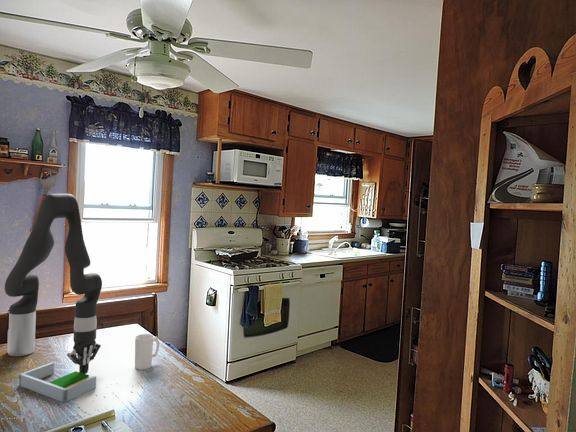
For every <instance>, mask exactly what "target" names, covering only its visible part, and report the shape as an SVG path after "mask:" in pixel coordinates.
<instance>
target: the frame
mask: <svg viewBox="0 0 576 432" xmlns="http://www.w3.org/2000/svg"><path fill="white" fill-rule="evenodd" d="M54 373H55V362H53V361H52V362H49V363H47V364H44V365H41V366H38V367H36V368H33V369H30V370H27V371H25V372H22V373H19V376H18V377H19V381H18V386H20V387H21V388H25V389H27V390H30V391H32V392H34V393H35V392H36V393H37V394H41V395H43V396H45V397H48V398H51V399H54V400H56V401H59V402H62V403H66V402H69V401H71V400H73V399H75V398H77V397H79V396H81V395H83V394H85V393H87V392H90V391H92V390H94V389H95V388H97V375H92V376H89V378H88V379H86V380H84V381H81V382H79V383H77V384H74V385H72V386H70V387H68V388H63V387H60V386H57V385H54V384H51V383H49V382H50V381H45V380H43V378H45V377H48V376H50V375H53V374H54Z"/></svg>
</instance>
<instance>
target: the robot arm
mask: <svg viewBox="0 0 576 432" xmlns="http://www.w3.org/2000/svg"><path fill="white" fill-rule="evenodd" d="M63 218H65V219H66V220H67V224H68V232H67V233H68V234H67V236H66V240H65V243H64V252H65V255H66V260H67V263H68V266H69V284H70V285H69V287H70V290H71V291H72V292H73V293H74V294H75V295H78V296H82V295H83V297H82V298H80V299H79V300H77V301H75V302H76V303H75V308H74V320H73V321H74V322H73V342H74V343H73V344H74V345H73V346H72V351H71V352H68V353H67V355H66V356H67V358H69V359H70V360H71V362H72V363H73V364H74V365H78V366H79V368H78V372H80V373H84V374H88V373H89V369H90V368H89V366H90V365H89V364H90V362H91V361H93V360H94V359H95V357H96V355H97V354H98V352H99V350H100V348H101V346H102V345H101V344H99V343H96V339H97V324H98V323H97V322H98V319H97V304H98V302H99V299H100V295H101V292H102V286H103V279H102V278H101V276H100V274H98V273H96V272H90V273H86V274H85V273H84V271H85V269H87V268H89V267H90V266H91V260H90V256H89V253H88V250H87V246H86V243H85V239H84V234H83V228H82V219H81V213H80V207H79V203H78V200H77V198H76V196H74V195H73V194H71V193H49V194H46V195H45V196H44V198H43V199H42V200H41V202H40V206H39V209H38V212H37V216H36V219H35V221H34V224H33V226H32V229H31V231H30V233H29V236H28V237H27V239H26V241H25V243H24V246H23V247H22V251H21V252H20V255H19V256H18V259H17V261H16V262H15V265H14V266H13V268H12V270H11V271H10V272H9V274H8V275H7V277H6V279H5V283H4V292H5V295H7V296H8V297H10V298H16V297H21V298H19V300H17V301H16V302H14V303H12V304H11V305H10V306H9V310H8V314H9V315H8V330H7V347H6V353H7V355H8V356H10V357H22V356H27V355H30V354H33V353H34V352H35V351H36V350H35V347H36V346H35V344H36V322H37V321H36V320H37V319H36V318H37V314H36V313H37V306H38V298H39V289H40V288H39V287H40V281H39V276H38V275H37V274H36V273H35V272H33V271H34V269H35V268H37V267H38V266H40V265H42V263H44V262H45V261H46V260H47V259H48V257H49V256H50V254H51V252H52V250H53V248H54V245H55V238H54V236H53V233H52V231H51V226H52V224H53V222H54V220H55V219H63ZM32 270H33V271H32Z"/></svg>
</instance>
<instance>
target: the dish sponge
mask: <svg viewBox="0 0 576 432" xmlns="http://www.w3.org/2000/svg"><path fill="white" fill-rule="evenodd" d="M88 378H90V375H89V374H88V373H86V374H84V373H80V372H79V371H78V370H77V371H73V372H70V373H69V374H66V375H64V376H61V377H58V378H56V379H54V380H53V379H52V380H51V381H48V382H49V383H51V384H54V385H57V386H60V387H63V388H68V387H70V386H72V385H74V384H77V383H79V382H81V381H84V380H86V379H88Z"/></svg>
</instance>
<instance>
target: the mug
mask: <svg viewBox="0 0 576 432" xmlns="http://www.w3.org/2000/svg"><path fill="white" fill-rule="evenodd" d="M134 338H135V339H134V340H135V341H134V342H135V343H134V347H135V348H134V368H135V369H137V370H141V371H142V370H148V369H150V368H151V367H152V362H153V358H155V357H157V355H158V352H159V350H160V341H159V339H158V338H159V337H158V336H154V335H153V334H151V333H150V334H149V333H142V334H137V335H136V336H135V337H134ZM154 342H155V344H156V347H155V350H154V352H153V349H154Z"/></svg>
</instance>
